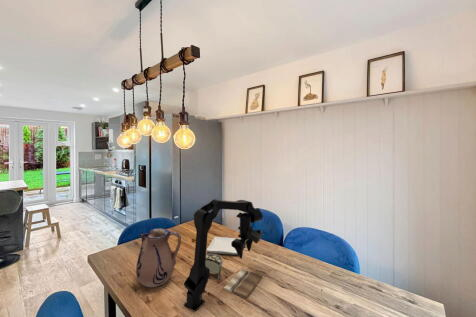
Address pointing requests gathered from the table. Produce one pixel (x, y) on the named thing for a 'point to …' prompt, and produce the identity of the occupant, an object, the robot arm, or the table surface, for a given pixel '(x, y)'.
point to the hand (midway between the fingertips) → (245, 254)
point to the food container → (214, 265)
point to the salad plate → (222, 246)
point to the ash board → (236, 280)
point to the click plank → (248, 284)
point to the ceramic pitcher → (156, 257)
